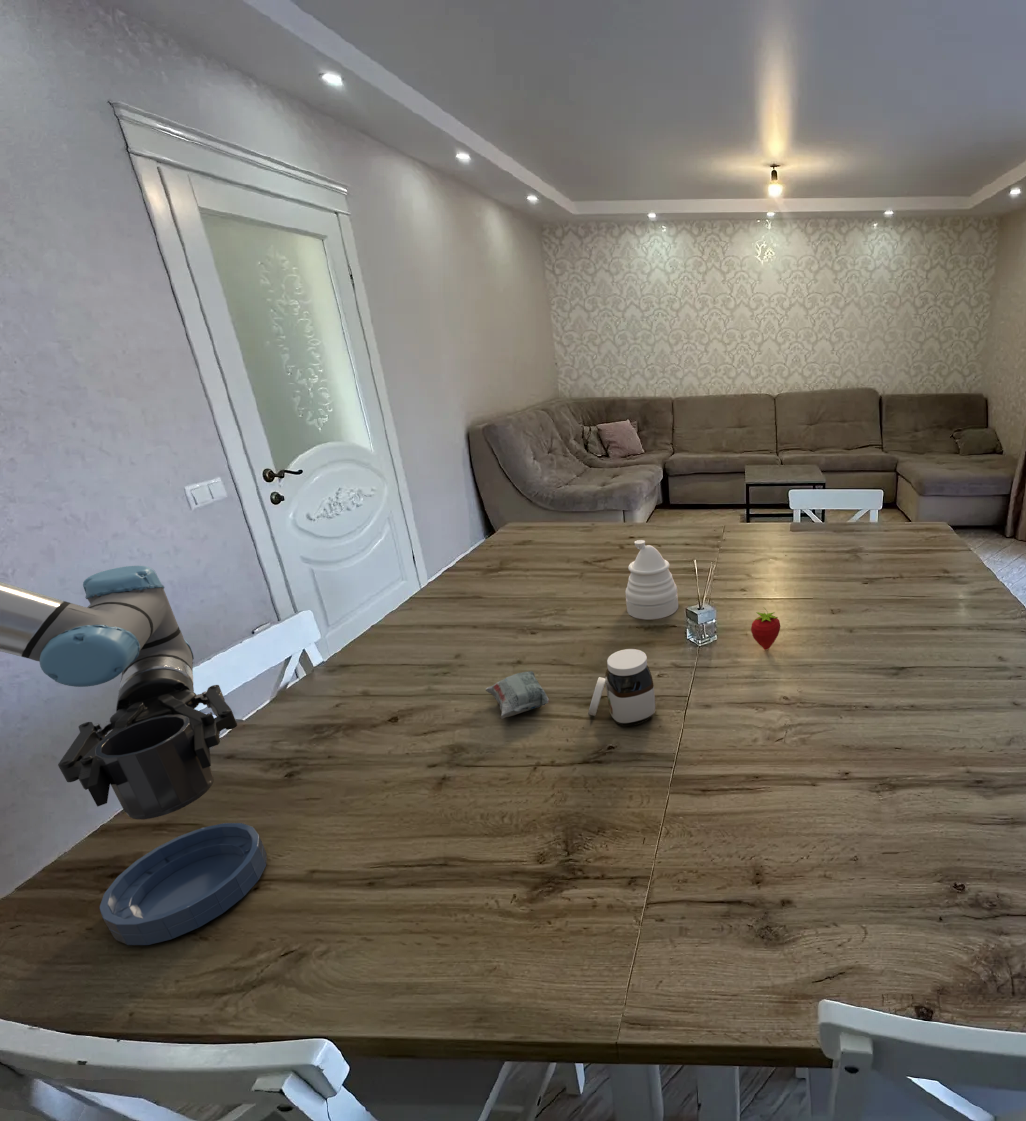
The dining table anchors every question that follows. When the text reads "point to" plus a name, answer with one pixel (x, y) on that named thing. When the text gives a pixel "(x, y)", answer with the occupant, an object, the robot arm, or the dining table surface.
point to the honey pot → (650, 585)
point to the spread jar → (626, 688)
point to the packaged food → (518, 694)
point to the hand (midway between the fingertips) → (152, 775)
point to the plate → (183, 884)
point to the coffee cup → (154, 766)
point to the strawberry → (765, 629)
